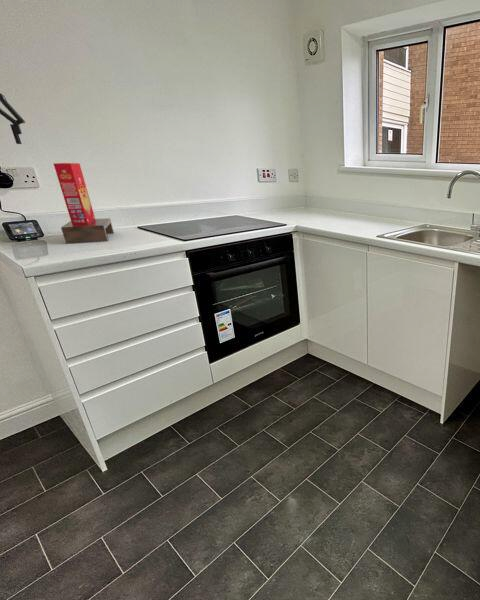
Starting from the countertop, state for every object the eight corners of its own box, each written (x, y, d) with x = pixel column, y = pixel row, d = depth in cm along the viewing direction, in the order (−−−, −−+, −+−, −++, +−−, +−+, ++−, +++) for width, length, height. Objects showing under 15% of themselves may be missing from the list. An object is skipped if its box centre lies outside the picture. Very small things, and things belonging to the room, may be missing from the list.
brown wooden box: (66, 243, 149) (60, 227, 146) (77, 234, 166) (72, 219, 164) (107, 241, 156) (103, 225, 153) (114, 232, 173) (110, 218, 171)
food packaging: (88, 224, 153) (70, 163, 144) (72, 225, 151) (53, 163, 142) (95, 219, 165) (79, 163, 156) (81, 220, 163) (64, 163, 154)
